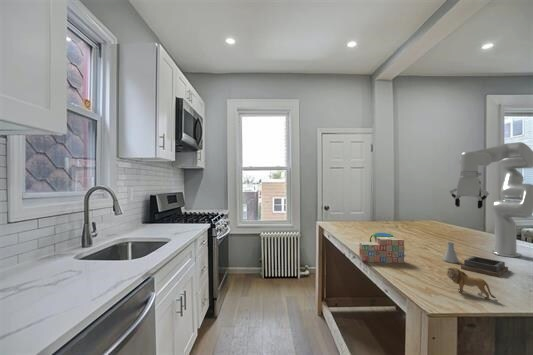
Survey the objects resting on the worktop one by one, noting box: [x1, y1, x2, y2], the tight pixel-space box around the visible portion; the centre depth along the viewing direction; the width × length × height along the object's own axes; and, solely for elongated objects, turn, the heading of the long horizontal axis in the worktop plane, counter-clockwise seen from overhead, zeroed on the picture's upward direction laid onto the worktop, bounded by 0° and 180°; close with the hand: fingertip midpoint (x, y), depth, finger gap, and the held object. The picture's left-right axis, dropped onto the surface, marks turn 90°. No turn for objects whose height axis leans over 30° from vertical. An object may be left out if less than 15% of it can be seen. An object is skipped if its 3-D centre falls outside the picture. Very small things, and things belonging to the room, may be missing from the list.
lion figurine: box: [446, 266, 496, 301], centre depth 103 cm, size 15×5×9 cm, turn 50°
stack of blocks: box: [358, 236, 405, 264], centre depth 146 cm, size 21×6×12 cm, turn 84°
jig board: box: [460, 255, 509, 278], centre depth 132 cm, size 16×14×4 cm
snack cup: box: [369, 232, 397, 242], centre depth 167 cm, size 16×11×10 cm
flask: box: [442, 241, 460, 264], centre depth 145 cm, size 7×7×10 cm
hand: (468, 207), depth 145 cm, fingers open, 9 cm apart
